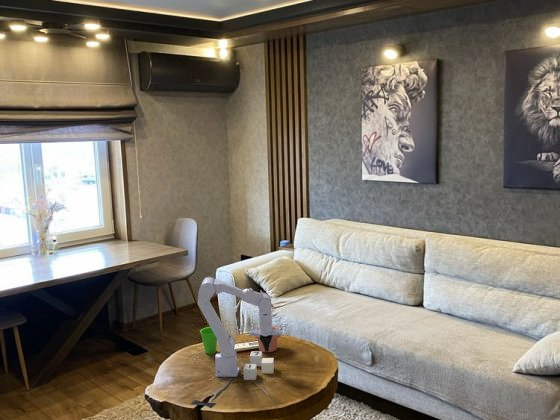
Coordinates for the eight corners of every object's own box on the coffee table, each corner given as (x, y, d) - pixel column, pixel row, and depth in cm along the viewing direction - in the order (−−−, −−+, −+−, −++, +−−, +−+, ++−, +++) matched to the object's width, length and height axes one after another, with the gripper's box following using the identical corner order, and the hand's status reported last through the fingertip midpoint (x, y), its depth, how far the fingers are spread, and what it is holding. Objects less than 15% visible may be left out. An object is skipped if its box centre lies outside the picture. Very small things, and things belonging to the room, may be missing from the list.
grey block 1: (244, 380, 245) (243, 369, 244) (245, 374, 250) (245, 363, 249) (255, 380, 245) (254, 368, 244) (257, 374, 249) (256, 363, 249)
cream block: (261, 373, 250) (261, 362, 249) (263, 368, 255) (262, 358, 254) (273, 373, 250) (272, 362, 249) (274, 368, 255) (273, 357, 254)
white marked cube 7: (250, 366, 258) (249, 355, 257) (251, 361, 263) (251, 351, 262) (261, 366, 257) (260, 355, 256) (262, 361, 262) (262, 351, 261)
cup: (199, 349, 278) (198, 328, 276) (218, 346, 280) (216, 325, 278) (203, 357, 269) (201, 335, 267) (221, 353, 272) (220, 332, 270)
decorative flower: (286, 353, 269) (283, 293, 264) (258, 358, 265) (255, 297, 260) (278, 341, 283) (275, 284, 278) (251, 345, 280) (248, 287, 274)
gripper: (247, 325, 245) (249, 354, 247) (281, 325, 244) (282, 354, 246) (250, 319, 252) (251, 348, 254) (282, 319, 251) (283, 347, 253)
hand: (267, 350), depth 251 cm, fingers closed
